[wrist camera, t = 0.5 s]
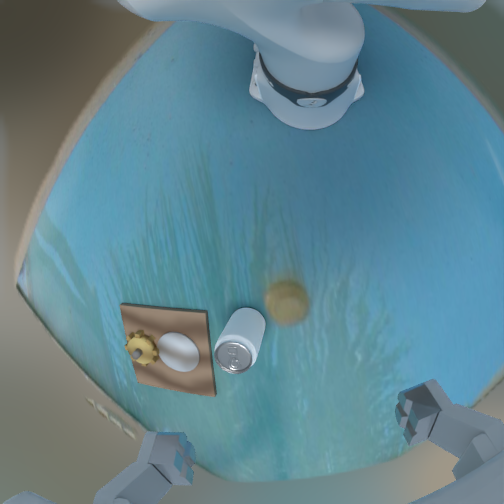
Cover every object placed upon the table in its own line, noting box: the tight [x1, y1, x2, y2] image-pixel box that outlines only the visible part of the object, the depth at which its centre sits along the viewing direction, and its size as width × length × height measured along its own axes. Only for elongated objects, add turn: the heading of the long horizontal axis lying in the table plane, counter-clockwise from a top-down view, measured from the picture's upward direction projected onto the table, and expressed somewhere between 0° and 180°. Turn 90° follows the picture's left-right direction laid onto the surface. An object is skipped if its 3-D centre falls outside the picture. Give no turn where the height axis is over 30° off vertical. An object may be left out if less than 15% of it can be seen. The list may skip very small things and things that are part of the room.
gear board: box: [120, 303, 217, 397], centre depth 53 cm, size 20×19×6 cm
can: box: [214, 308, 265, 374], centre depth 45 cm, size 6×6×12 cm
